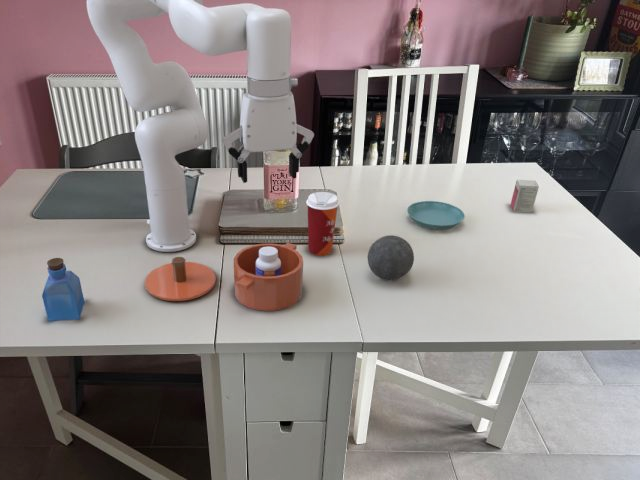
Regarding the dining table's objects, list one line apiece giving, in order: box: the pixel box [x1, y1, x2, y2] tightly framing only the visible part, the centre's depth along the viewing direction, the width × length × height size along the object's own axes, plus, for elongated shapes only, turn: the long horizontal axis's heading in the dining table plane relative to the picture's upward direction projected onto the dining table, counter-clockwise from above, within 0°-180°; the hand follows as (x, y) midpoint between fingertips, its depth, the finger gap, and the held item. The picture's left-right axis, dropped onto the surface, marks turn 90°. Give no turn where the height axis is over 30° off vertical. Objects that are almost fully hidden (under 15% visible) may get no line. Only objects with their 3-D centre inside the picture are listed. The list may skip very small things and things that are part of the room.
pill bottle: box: [256, 246, 281, 276], centre depth 121 cm, size 5×5×10 cm
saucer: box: [406, 200, 466, 231], centre depth 151 cm, size 15×15×3 cm
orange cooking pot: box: [233, 242, 304, 312], centre depth 122 cm, size 15×20×8 cm
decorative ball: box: [367, 234, 415, 281], centre depth 126 cm, size 10×10×10 cm
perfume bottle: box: [41, 257, 85, 322], centre depth 115 cm, size 6×6×12 cm
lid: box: [144, 256, 217, 302], centre depth 125 cm, size 16×16×6 cm
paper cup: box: [305, 191, 340, 257], centre depth 136 cm, size 8×8×14 cm
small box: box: [509, 179, 540, 213], centre depth 156 cm, size 5×4×8 cm
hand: (268, 178), depth 110 cm, fingers open, 9 cm apart
